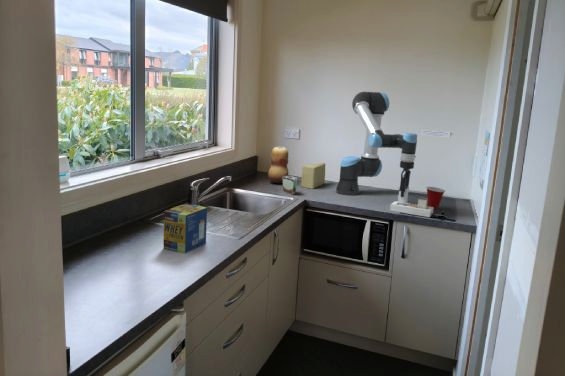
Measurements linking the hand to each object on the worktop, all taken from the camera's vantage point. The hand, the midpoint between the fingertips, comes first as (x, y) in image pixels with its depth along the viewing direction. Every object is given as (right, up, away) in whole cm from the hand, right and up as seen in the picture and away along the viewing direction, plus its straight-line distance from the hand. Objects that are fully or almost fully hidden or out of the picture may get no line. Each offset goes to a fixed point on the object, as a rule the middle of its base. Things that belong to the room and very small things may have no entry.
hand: (402, 201), depth 267 cm
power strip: (+8, -6, -3) cm, 11 cm away
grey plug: (0, 0, 0) cm, 0 cm away
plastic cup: (+21, -4, +11) cm, 24 cm away
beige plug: (+9, -7, -4) cm, 12 cm away
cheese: (-46, +9, +53) cm, 71 cm away
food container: (-63, +4, +28) cm, 69 cm away
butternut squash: (-71, +11, +54) cm, 90 cm away
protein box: (-108, -16, -77) cm, 133 cm away
